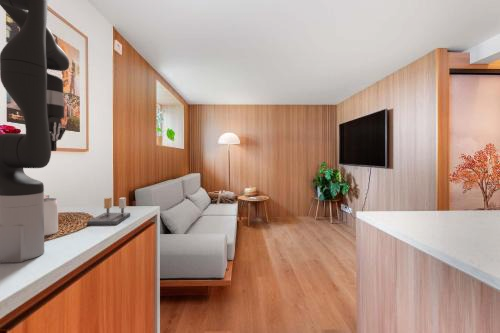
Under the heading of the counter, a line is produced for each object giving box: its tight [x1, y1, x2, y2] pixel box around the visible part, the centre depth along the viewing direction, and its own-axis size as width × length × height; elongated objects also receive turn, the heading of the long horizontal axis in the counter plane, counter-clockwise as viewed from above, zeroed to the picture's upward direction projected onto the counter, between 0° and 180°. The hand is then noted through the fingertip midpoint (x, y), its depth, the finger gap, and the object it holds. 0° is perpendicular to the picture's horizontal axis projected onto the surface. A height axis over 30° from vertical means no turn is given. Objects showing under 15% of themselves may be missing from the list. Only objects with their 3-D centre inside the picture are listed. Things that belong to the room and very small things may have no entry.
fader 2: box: [118, 197, 127, 213], centre depth 111 cm, size 3×2×7 cm
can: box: [44, 197, 59, 237], centre depth 87 cm, size 6×6×12 cm
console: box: [86, 212, 131, 226], centre depth 106 cm, size 15×11×2 cm
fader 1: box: [103, 197, 113, 214], centre depth 110 cm, size 3×2×7 cm
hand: (52, 150), depth 93 cm, fingers closed
